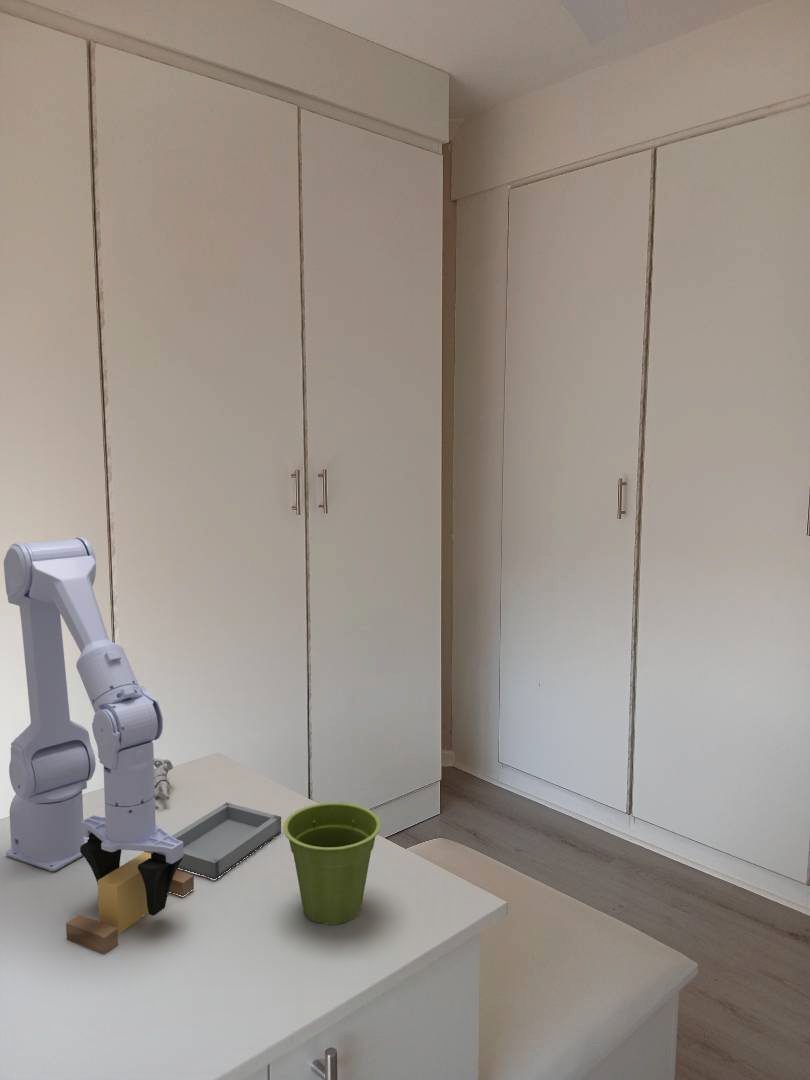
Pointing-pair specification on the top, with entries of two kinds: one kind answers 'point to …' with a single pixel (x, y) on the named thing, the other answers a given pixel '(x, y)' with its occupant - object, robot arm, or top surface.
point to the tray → (225, 838)
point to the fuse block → (123, 895)
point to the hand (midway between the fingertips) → (133, 902)
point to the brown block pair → (106, 935)
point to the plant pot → (332, 857)
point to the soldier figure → (161, 778)
